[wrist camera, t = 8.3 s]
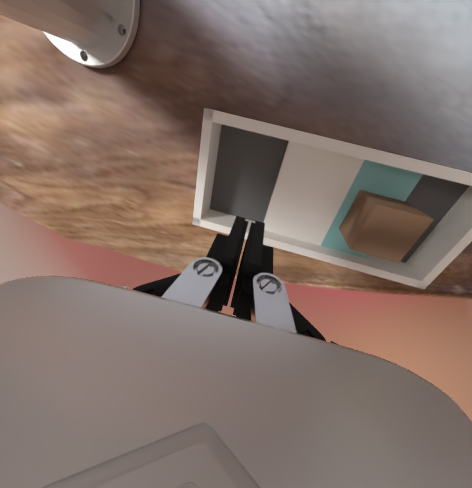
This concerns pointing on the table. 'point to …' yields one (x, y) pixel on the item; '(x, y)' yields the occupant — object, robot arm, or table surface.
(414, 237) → the walnut block
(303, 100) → the table surface
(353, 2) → the table surface
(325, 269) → the table surface
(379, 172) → the tray
